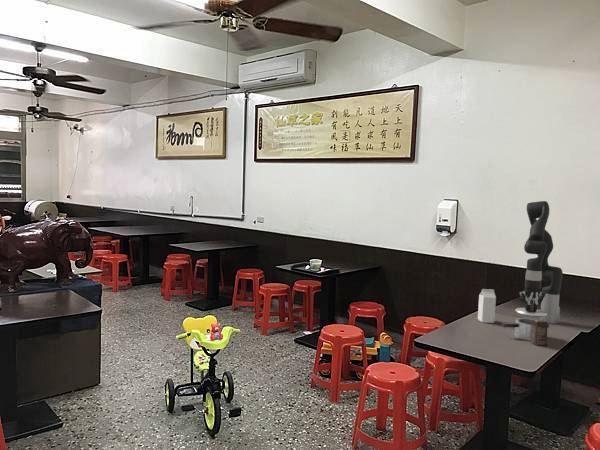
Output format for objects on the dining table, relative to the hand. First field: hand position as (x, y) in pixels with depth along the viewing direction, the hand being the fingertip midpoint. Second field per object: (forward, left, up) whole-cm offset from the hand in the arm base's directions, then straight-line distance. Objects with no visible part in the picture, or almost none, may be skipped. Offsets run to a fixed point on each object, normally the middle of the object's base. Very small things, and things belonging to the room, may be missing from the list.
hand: (530, 311), depth 243 cm
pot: (+3, 0, -14) cm, 14 cm away
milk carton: (+9, -29, -14) cm, 33 cm away
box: (+2, +12, -14) cm, 19 cm away
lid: (0, 0, -1) cm, 1 cm away
